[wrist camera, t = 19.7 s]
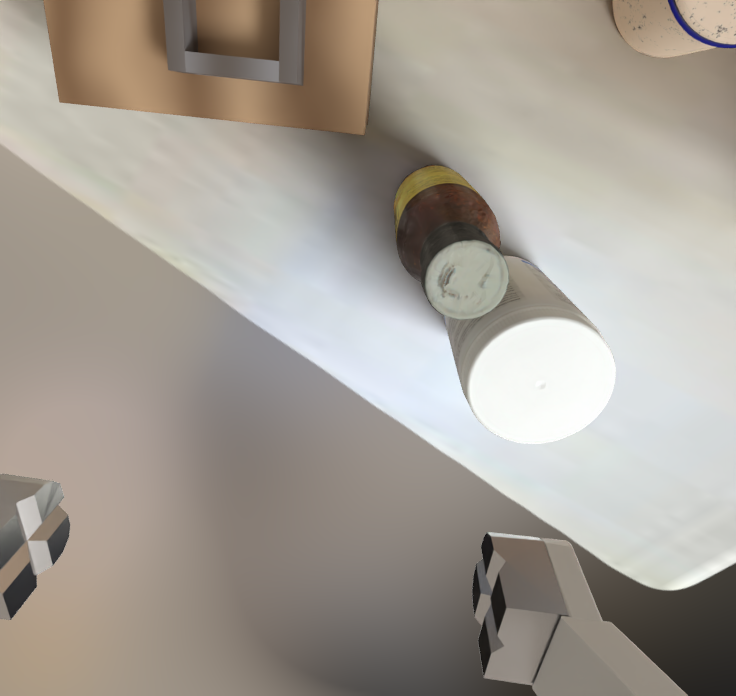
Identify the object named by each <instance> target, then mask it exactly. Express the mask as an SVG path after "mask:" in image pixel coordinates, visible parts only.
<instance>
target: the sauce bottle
mask: <svg viewBox="0 0 736 696" xmlns="http://www.w3.org/2000/svg"><path fill="white" fill-rule="evenodd" d="M394 217H395V232H396V243H397V250H398V254H399V257H400V259H401V261H402V264H403V265H404V267H405V268H406V270H407V271H408V272H409V273H410V274H411V275H412V276H413V277H414V278H415V279H417V280H418V281H420V282H421V284H422V287H423V290H424V292H425V294H426V296H427V299H428V301H429V302H430V304H431V305H432V307H433V308H434V309H435V310H436V311H438V312H439V313H441V314H443V315H444V316H447V317H450V318H454V319H457V320H465V319H473V318H477V317H480V316H482V315H484V314H486V313H488V312H490V311H491V310H492V309H493V308H495V307H496V306H497V305H498V304H499V303H500V301H501V300H502V298H503V296H504V295H505V293H506V290H507V287H508V283H509V270H508V266H507V263H506V260H505V258H504V256H503V255H502V253H501V251H500V250H499V248H500V244H501V241H500V231H499V228H498V224H497V221H496V218H495V215H494V214H493V212H492V210H491V209H490V208H489V206H488V204H487V203H486V202H485V200H484V199H483V198H482V197H481V196H480V194H479V193H478V192H477V191H476V190H475V189H474V188H473V187H472V186H471V185H470V184H469V183H468V182H467V181H466V180H465V179H464V178H463V177H462V176H461V175H459V174H458V173H457V172H455V171H454V170H452V169H449V168H447V167H443V166H435V165H431V166H426V167H423V168H421V169H418V170H416V171H414V172H413V173H411V174H410V175H409V176H407V177H406V178H405V179H404V181H403V182H402V183H401V185H400V187H399V189H398V191H397V194H396V197H395V201H394Z"/></svg>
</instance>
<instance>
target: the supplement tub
mask: <svg viewBox="0 0 736 696" xmlns="http://www.w3.org/2000/svg"><path fill="white" fill-rule="evenodd" d="M504 258H505V260H506V263H507V266H508V270H509V283H508V287H507V290H506V293H505V295H504V296H503V298H502V300H501V301H500V303H499V304H498V305H497V306H496V307H495V308H493V309H492V310H491V311H490V312H488V313H486V314H484V315H482V316H480V317H477V318H473V319H465V320H457V319H454V318H450V317H447V316H444V320H445V325H446V328H447V332H448V336H449V340H450V344H451V348H452V352H453V356H454V360H455V364H456V368H457V371H458V375H459V379H460V383H461V386H462V390H463V393H464V395H465V397H466V399H467V401H468V403H469V405H470V407H471V410H472V412H473V413H474V415H475V417H476V418H477V419H478V421H479V422H480V423H481V424H482V425H483V426H484V427H485V428H486V429H488V430H489V431H491V432H492V433H494V434H495V435H497V436H499V437H501V438H504V439H506V440H510V441H513V442H518V443H526V444H538V443H547V442H552V441H556V440H559V439H563V438H565V437H568V436H570V435H572V434H574V433H576V432H578V431H579V430H581V429H582V428H584V427H585V426H587V425H588V424H589V423H590V422H592V421H593V420H594V419H595V418H596V417H597V416H598V415H599V413H600V412H601V411H602V410H603V408H604V407H605V405H606V404H607V402H608V400H609V398H610V396H611V394H612V391H613V388H614V383H615V376H616V369H615V362H614V357H613V354H612V352H611V349H610V348H609V346H608V344H607V343H606V341H605V339H604V338H603V336H602V334H601V333H600V331H599V330H598V329H597V327H596V326H595V325H594V324H593V323H592V322H591V321H590V320H589V319H588V318H587V317H586V316H585V315H584V314H583V313H582V312H581V311H580V310H579V309H578V308H577V307H576V306H575V305H574V304H573V303H572V302H571V301H570V300H569V299H568V298H567V297H566V296H565V295H564V293H563V292H562V291H561V290H560V289H559V288H558V287H557V286H556V285H555V284H554V283H553V282H552V281H551V280H550V279H549V278H548V277H547V276H546V275H545V274H544V273H543V272H542V271H541V270H540V269H539V268H537V267H536V266H535V265H534V264H532V263H530V262H529V261H526V260H524V259H521V258H518V257H514V256H504Z"/></svg>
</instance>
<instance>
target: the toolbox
mask: <svg viewBox="0 0 736 696" xmlns="http://www.w3.org/2000/svg"><path fill="white" fill-rule="evenodd" d="M43 1H44V7H45V14H46V20H47V26H48V33H49V39H50V45H51V52H52V58H53V64H54V71H55V77H56V83H57V89H58V96H59V102H62V103H71V104H80V105H90V106H99V107H108V108H117V109H127V110H136V111H145V112H154V113H164V114H173V115H182V116H192V117H201V118H210V119H219V120H229V121H238V122H247V123H256V124H266V125H275V126H284V127H294V128H303V129H312V130H321V131H331V132H340V133H349V134H359V135H365V130H366V125H368V116H369V104H370V93H371V81H372V70H373V59H374V47H375V36H376V24H377V13H378V1H379V0H43Z"/></svg>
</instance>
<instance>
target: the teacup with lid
mask: <svg viewBox="0 0 736 696" xmlns="http://www.w3.org/2000/svg"><path fill="white" fill-rule="evenodd" d="M612 4H613V13H614V18H615V22H616V25H617V27H618V30H619V32H620V34H621V35H622V37H623V38H624V40H625V41H626V42H627V43H628V44H629V45H630V46H631V47H632V48H633V49H635V50H636V51H638V52H640V53H642V54H644V55H647V56H651V57H657V58H669V57H676V56H680V55H685V54H690V53H694V52H699V51H703V50H708V49H713V48H717V47H720V48H736V0H613V2H612Z"/></svg>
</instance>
